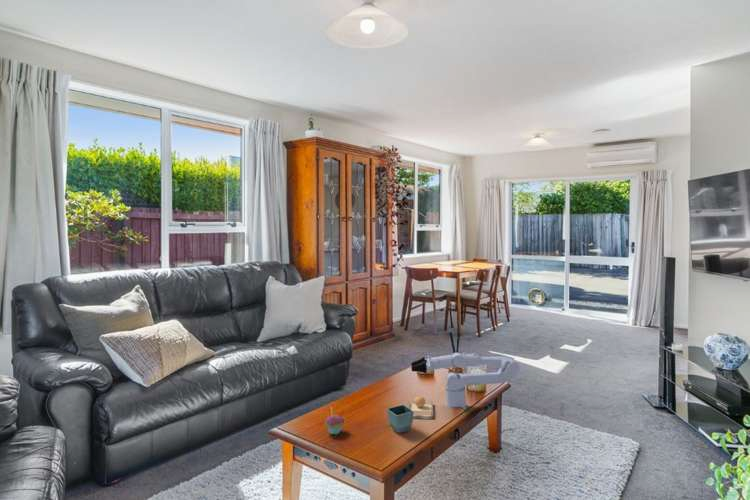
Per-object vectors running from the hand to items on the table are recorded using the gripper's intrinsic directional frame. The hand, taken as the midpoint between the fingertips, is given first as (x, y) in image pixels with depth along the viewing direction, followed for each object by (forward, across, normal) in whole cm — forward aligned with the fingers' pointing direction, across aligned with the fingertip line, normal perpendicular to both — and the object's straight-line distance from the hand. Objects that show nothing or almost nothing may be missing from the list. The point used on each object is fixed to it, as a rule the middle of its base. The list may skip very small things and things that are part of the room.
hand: (411, 366), depth 221 cm
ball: (-1, +3, +19) cm, 19 cm away
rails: (0, +8, +20) cm, 22 cm away
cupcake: (+36, +29, +15) cm, 49 cm away
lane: (0, +8, +20) cm, 22 cm away
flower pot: (+8, +26, +20) cm, 34 cm away
